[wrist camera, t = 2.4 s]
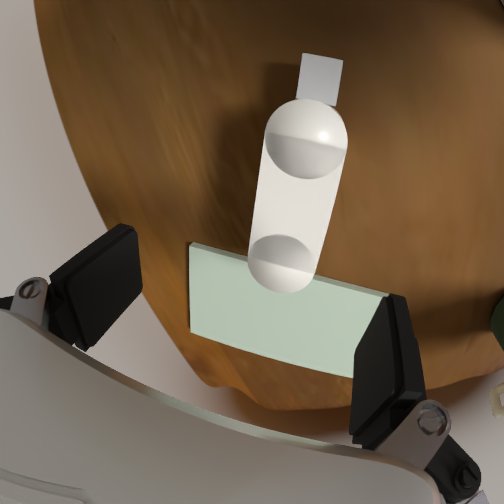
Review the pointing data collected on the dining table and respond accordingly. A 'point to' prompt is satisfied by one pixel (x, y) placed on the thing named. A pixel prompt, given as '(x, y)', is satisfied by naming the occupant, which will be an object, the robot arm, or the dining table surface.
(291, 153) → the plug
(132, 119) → the dining table surface
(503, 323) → the character mug
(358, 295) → the green board
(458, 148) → the dining table surface
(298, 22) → the dining table surface
